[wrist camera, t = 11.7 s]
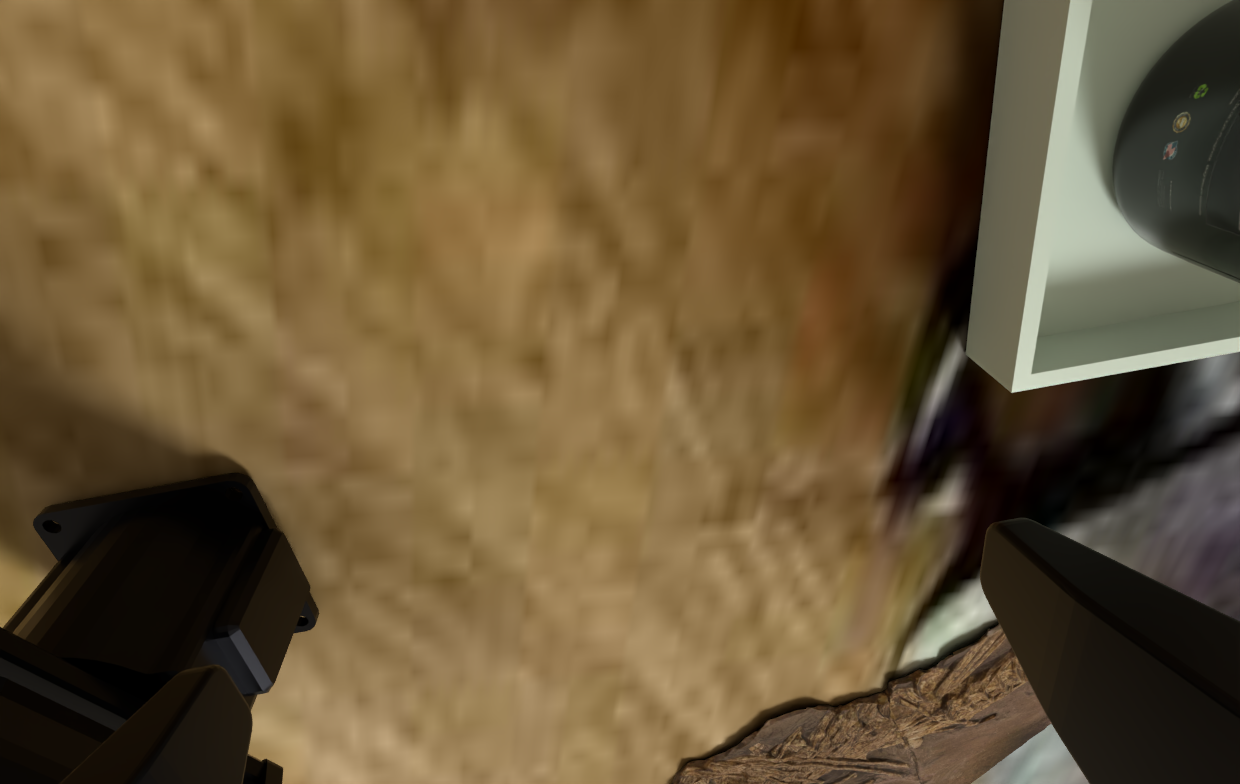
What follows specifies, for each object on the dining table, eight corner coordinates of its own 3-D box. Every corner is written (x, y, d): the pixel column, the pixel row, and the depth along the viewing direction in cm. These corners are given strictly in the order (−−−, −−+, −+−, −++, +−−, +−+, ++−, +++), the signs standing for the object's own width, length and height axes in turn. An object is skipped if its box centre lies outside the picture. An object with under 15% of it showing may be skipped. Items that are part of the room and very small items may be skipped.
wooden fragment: (1100, 569, 28) (1118, 588, 27) (1133, 715, 34) (1149, 735, 33) (540, 801, 32) (540, 824, 31) (648, 899, 38) (650, 921, 37)
